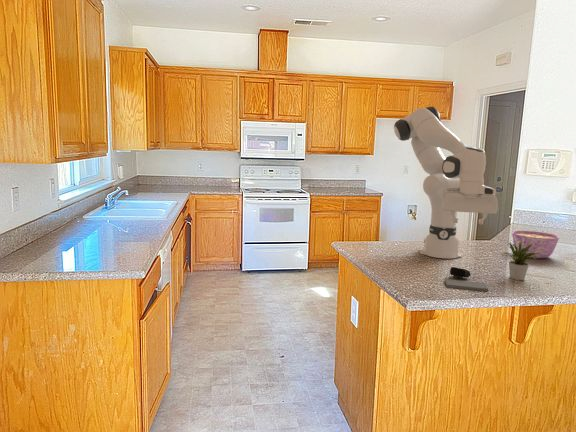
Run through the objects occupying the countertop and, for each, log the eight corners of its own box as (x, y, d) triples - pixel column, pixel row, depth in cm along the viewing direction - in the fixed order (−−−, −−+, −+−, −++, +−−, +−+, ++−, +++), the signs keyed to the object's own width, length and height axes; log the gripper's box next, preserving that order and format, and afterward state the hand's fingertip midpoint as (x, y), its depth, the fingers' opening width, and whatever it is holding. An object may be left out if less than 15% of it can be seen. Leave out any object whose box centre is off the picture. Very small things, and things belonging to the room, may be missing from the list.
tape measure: (464, 278, 163) (465, 268, 164) (446, 275, 168) (447, 266, 168) (470, 279, 168) (471, 270, 169) (452, 276, 173) (454, 267, 173)
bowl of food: (509, 258, 204) (511, 235, 203) (509, 251, 222) (512, 229, 220) (558, 265, 195) (561, 240, 193) (554, 256, 213) (557, 233, 211)
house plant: (495, 280, 167) (500, 239, 165) (492, 271, 180) (496, 233, 178) (537, 285, 163) (542, 243, 160) (530, 275, 175) (535, 236, 173)
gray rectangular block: (444, 281, 164) (445, 278, 164) (484, 285, 160) (484, 282, 160) (446, 287, 157) (447, 284, 156) (488, 291, 153) (488, 288, 153)
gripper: (443, 188, 167) (441, 222, 169) (500, 190, 162) (497, 226, 164) (442, 186, 173) (439, 220, 175) (497, 189, 168) (493, 224, 170)
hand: (467, 223), depth 170 cm, fingers open, 8 cm apart
